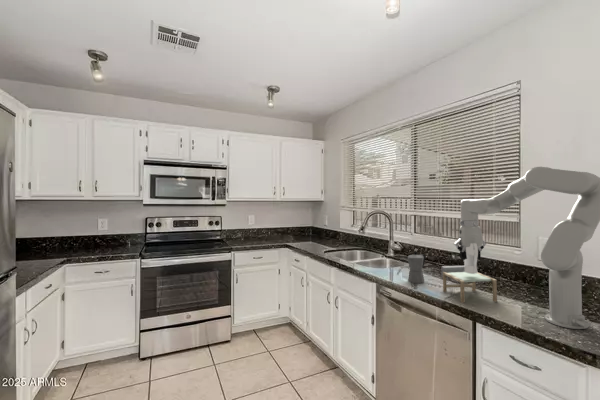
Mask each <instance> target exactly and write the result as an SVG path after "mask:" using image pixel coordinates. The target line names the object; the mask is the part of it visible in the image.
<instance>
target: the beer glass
mask: <svg viewBox="0 0 600 400" xmlns="http://www.w3.org/2000/svg"><path fill="white" fill-rule="evenodd" d="M464 252H465V258H466V259H465V260H463V264H464V265H463V266H464V272H465V273H470V274H476V273H479V272H478V269H477V268H478V267H477V263H478V260H479V259H478V247H477V243H471V244H470V247H466V248H465V251H464Z"/></svg>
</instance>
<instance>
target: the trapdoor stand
mask: <svg viewBox="0 0 600 400" xmlns="http://www.w3.org/2000/svg"><path fill="white" fill-rule="evenodd" d="M477 274H480V275H482V276H485V277H487V278H490V279H491V281H490V282H491V283H492V301H493V302H495V303H496V302H498V291H497V289H498V288H497V286H498V285H497V281H498V280H497V279H496V278H494V277H491V276H489V275H485V274H482V273H480V272H478V273H477ZM446 276H448V277H446ZM447 278H449V279H453V280H454V281H457V282H458V283H457V284H455V283H454V284H453V283H452V284H447ZM469 287H470V288H471V291H473V292H476V290H477V287H476V282H471V283H465V282H464V281H463V280H461V279H459V278H457V277H455V276H453V275H451V274H449V273H446V272H443V276H442V291H443V292H444V293H447V289H448V288H449V289H450V288H460V289H459V290H460V303H462V304H464V303H465V288H469Z"/></svg>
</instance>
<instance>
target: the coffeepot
mask: <svg viewBox="0 0 600 400" xmlns="http://www.w3.org/2000/svg"><path fill="white" fill-rule="evenodd" d="M413 253H414V254H410V255H408V256H407V263H408V267H409V270H408V271H409V272H408V279H407V281H408V282H409V283H413V284H423V283H424V282H425V278H424V273H423V268H424V266H425V261H426V255H425V254H424V253H422V254H418V251H413Z"/></svg>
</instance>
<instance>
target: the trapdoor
mask: <svg viewBox="0 0 600 400" xmlns="http://www.w3.org/2000/svg"><path fill="white" fill-rule="evenodd" d="M440 271H441V276H442V277H443V272H446V273H449V274H451V275H453V276H455V277H457V278H459V279H461V280H463V281H464V283H472V282H479V283H481V282H492V281H491V279H490V278H487V277H485V276H482V275H480V274H477V273H476V274H470V273H465V272H464V265H445V266H444V265H442V266H441V270H440ZM446 278H449V277H448V276H446Z"/></svg>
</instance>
